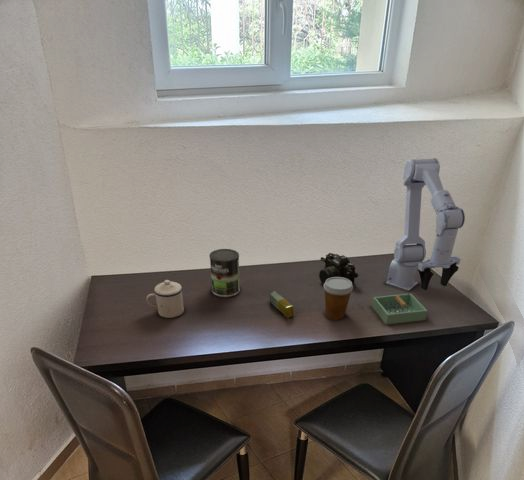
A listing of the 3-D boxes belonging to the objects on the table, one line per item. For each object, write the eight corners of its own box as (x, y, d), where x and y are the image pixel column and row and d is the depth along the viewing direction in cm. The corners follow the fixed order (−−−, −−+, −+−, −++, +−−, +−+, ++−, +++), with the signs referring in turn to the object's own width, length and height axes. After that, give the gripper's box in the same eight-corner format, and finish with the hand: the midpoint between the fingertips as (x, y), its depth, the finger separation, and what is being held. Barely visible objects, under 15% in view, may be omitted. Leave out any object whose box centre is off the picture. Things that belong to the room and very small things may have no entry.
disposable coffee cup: (331, 325, 150) (334, 292, 143) (315, 311, 157) (318, 280, 150) (355, 318, 154) (359, 285, 147) (338, 305, 160) (342, 273, 153)
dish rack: (390, 319, 152) (393, 306, 149) (382, 308, 158) (384, 295, 155) (414, 316, 153) (417, 303, 150) (405, 306, 159) (407, 293, 156)
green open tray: (385, 325, 150) (387, 315, 148) (371, 307, 159) (373, 297, 157) (425, 321, 152) (427, 310, 150) (408, 303, 162) (411, 293, 159)
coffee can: (232, 299, 164) (231, 262, 155) (207, 294, 167) (204, 257, 158) (244, 286, 171) (243, 251, 163) (219, 281, 174) (217, 246, 166)
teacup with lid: (184, 303, 161) (180, 273, 154) (184, 317, 154) (181, 286, 147) (149, 306, 159) (144, 276, 153) (148, 320, 152) (142, 289, 145)
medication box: (269, 302, 162) (268, 293, 159) (276, 300, 163) (275, 290, 160) (287, 318, 153) (286, 308, 151) (294, 315, 154) (293, 305, 151)
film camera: (305, 280, 175) (307, 256, 169) (324, 269, 183) (326, 245, 177) (345, 295, 166) (348, 270, 160) (363, 283, 174) (366, 258, 168)
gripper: (431, 256, 138) (422, 296, 146) (470, 249, 142) (459, 288, 150) (417, 247, 143) (409, 286, 151) (455, 241, 147) (445, 279, 155)
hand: (433, 286), depth 151 cm, fingers open, 7 cm apart
